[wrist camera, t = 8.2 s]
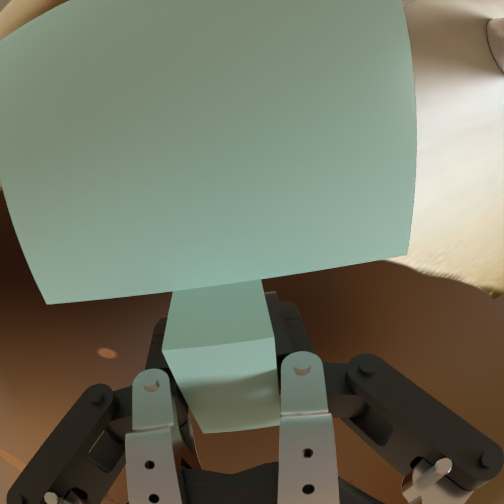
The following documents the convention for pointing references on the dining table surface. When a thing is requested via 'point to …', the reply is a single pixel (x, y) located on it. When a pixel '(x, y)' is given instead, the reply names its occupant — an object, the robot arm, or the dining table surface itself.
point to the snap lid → (208, 165)
